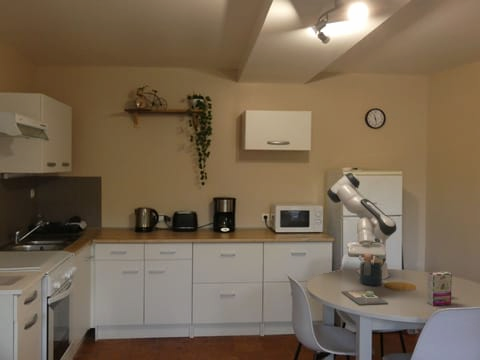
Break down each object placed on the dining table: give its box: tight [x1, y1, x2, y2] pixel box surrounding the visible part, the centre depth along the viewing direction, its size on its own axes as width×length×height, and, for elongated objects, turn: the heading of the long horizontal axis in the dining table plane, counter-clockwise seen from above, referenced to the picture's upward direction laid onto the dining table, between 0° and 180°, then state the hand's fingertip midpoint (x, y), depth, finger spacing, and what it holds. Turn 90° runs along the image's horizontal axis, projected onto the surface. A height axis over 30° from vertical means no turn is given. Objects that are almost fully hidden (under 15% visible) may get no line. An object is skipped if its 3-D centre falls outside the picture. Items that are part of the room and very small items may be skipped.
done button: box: [366, 290, 374, 297], centre depth 226 cm, size 4×4×3 cm
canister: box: [359, 258, 383, 287], centre depth 262 cm, size 13×13×18 cm
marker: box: [364, 254, 371, 276], centre depth 235 cm, size 4×4×11 cm
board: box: [340, 289, 389, 307], centre depth 233 cm, size 22×16×3 cm
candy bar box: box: [426, 270, 453, 307], centre depth 225 cm, size 11×5×16 cm, turn 105°
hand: (367, 263), depth 234 cm, fingers closed on marker, 3 cm apart
